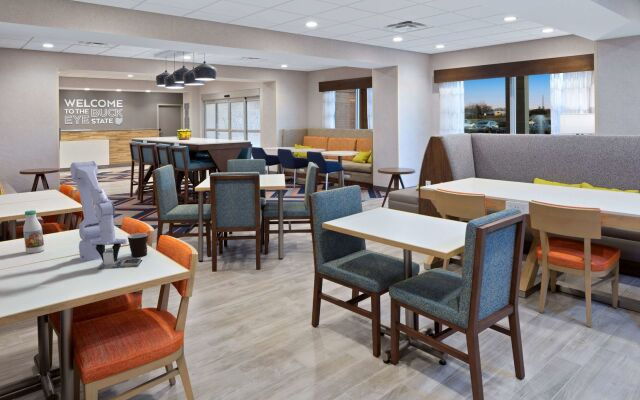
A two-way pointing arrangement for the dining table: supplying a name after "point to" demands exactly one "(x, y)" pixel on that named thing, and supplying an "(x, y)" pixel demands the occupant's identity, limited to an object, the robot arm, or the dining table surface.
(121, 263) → the panel
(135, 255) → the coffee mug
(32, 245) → the milk bottle
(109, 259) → the plug
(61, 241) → the dining table surface
